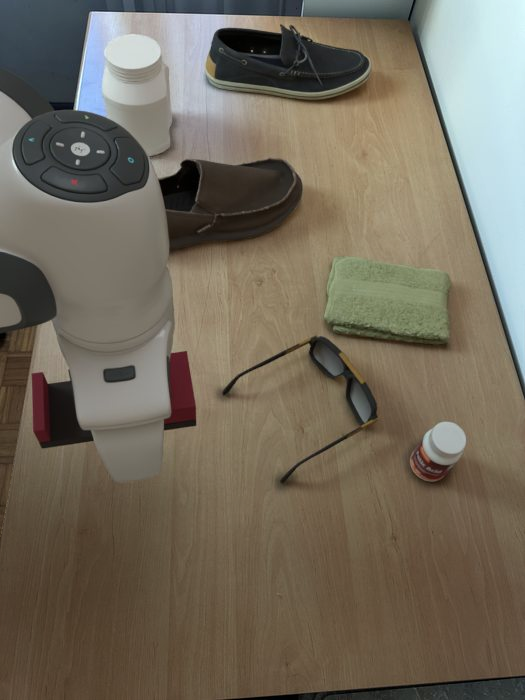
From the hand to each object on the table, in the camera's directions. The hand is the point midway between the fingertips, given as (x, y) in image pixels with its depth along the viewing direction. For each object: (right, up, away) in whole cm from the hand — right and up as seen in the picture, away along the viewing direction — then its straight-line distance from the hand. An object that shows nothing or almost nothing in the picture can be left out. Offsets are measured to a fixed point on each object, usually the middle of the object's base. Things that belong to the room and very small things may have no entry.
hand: (132, 398), depth 61 cm
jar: (-8, +40, +49) cm, 63 cm away
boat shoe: (+16, +52, +58) cm, 80 cm away
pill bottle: (+33, -10, +22) cm, 40 cm away
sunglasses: (+17, -3, +24) cm, 30 cm away
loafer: (+4, +24, +40) cm, 46 cm away
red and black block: (-2, -1, +1) cm, 2 cm away
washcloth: (+30, +11, +34) cm, 46 cm away
